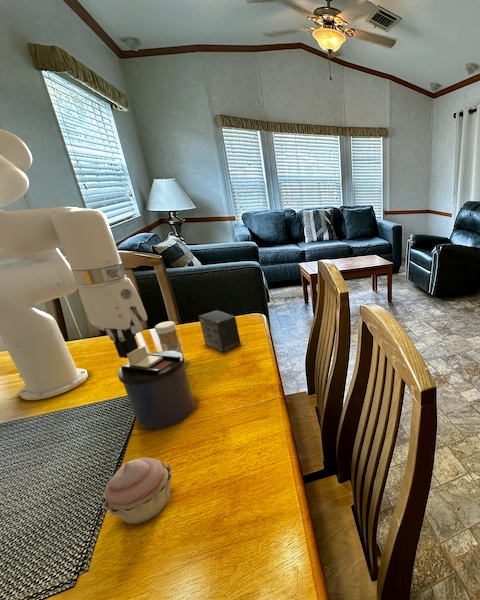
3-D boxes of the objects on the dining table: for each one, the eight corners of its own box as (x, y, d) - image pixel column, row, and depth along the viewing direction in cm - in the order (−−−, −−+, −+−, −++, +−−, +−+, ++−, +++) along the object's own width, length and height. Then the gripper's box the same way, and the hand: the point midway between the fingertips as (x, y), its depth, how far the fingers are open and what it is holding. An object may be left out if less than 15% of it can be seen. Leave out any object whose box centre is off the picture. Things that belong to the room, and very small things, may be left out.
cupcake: (124, 491, 57) (104, 448, 53) (185, 475, 60) (170, 433, 57) (100, 544, 49) (75, 498, 45) (172, 522, 52) (154, 477, 48)
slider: (129, 366, 70) (125, 354, 69) (146, 357, 73) (142, 345, 72) (146, 369, 69) (142, 356, 68) (163, 359, 73) (159, 347, 71)
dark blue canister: (123, 427, 72) (101, 373, 67) (168, 393, 82) (152, 345, 77) (167, 434, 70) (148, 379, 64) (208, 399, 80) (194, 350, 75)
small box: (243, 345, 105) (236, 315, 101) (223, 354, 100) (216, 323, 96) (223, 337, 110) (217, 308, 106) (204, 345, 105) (196, 316, 101)
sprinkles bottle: (186, 367, 93) (174, 325, 88) (167, 372, 91) (154, 329, 86) (186, 360, 97) (174, 319, 92) (167, 364, 95) (154, 323, 90)
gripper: (148, 270, 66) (173, 349, 73) (90, 267, 69) (119, 343, 76) (111, 282, 60) (142, 367, 66) (48, 278, 63) (84, 360, 69)
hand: (129, 354), depth 71 cm, fingers closed
